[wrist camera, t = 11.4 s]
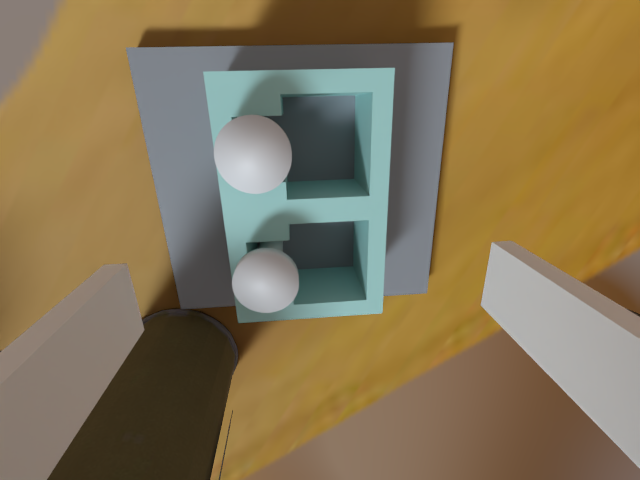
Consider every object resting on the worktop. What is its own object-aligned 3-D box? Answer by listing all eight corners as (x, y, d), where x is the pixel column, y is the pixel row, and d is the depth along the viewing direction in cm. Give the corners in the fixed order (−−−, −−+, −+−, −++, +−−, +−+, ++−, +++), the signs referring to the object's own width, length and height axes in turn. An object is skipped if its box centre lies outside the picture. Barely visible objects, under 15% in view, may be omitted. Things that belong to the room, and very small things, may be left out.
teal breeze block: (247, 285, 29) (238, 323, 24) (222, 79, 23) (203, 71, 18) (366, 277, 29) (382, 313, 24) (372, 76, 24) (394, 67, 18)
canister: (124, 387, 34) (-81, 731, 15) (130, 299, 30) (-128, 607, 11) (233, 400, 35) (170, 723, 17) (251, 318, 32) (196, 612, 13)
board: (185, 300, 30) (144, 376, 22) (135, 51, 23) (43, 17, 14) (420, 285, 32) (469, 350, 23) (444, 46, 25) (527, 12, 16)
